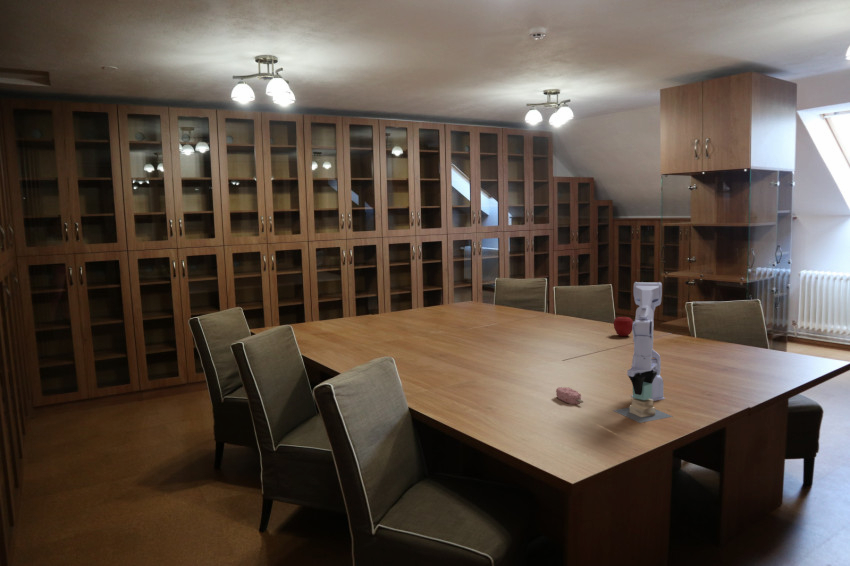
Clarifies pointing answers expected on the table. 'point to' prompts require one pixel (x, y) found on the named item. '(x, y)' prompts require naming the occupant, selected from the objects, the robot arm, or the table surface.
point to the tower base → (642, 411)
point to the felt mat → (642, 419)
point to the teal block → (644, 392)
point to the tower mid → (642, 403)
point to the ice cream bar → (568, 395)
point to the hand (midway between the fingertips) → (642, 392)
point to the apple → (623, 325)
